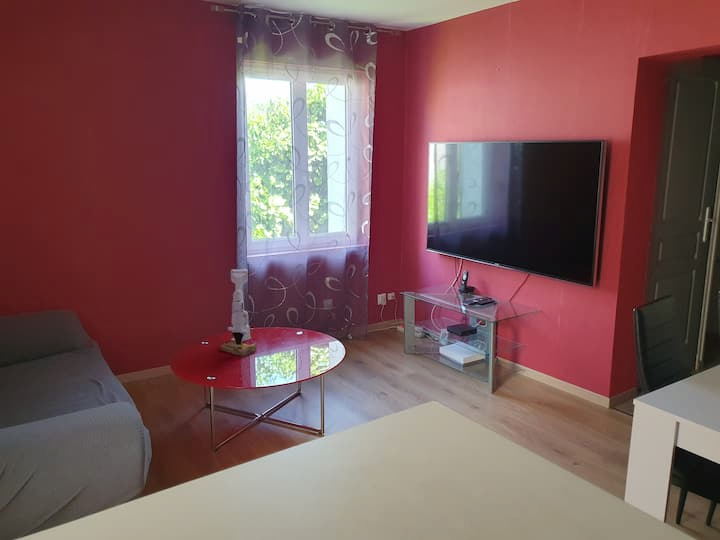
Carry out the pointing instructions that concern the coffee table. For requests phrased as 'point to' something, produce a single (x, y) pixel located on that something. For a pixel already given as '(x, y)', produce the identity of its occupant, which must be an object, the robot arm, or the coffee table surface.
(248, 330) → the robot arm
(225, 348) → the board
